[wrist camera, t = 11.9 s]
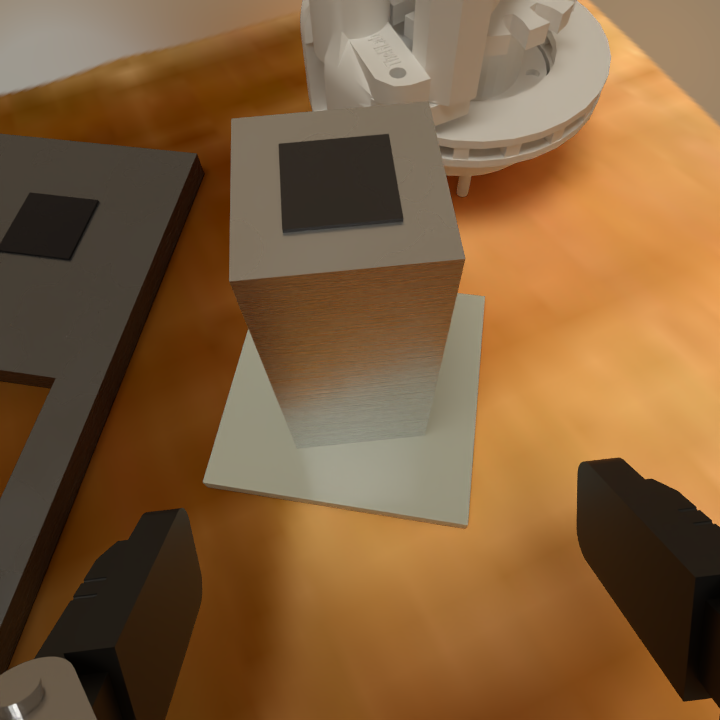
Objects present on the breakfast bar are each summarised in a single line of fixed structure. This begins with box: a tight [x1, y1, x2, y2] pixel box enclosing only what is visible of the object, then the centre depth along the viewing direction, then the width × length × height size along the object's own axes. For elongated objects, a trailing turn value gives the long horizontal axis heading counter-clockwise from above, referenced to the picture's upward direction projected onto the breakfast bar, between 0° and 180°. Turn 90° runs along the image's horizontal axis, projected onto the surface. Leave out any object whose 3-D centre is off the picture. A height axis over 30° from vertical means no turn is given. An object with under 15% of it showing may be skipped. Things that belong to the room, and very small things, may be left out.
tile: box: [203, 293, 485, 529], centre depth 21 cm, size 9×9×1 cm
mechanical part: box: [300, 0, 611, 197], centre depth 21 cm, size 11×12×12 cm
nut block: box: [229, 101, 465, 449], centre depth 16 cm, size 4×4×10 cm
